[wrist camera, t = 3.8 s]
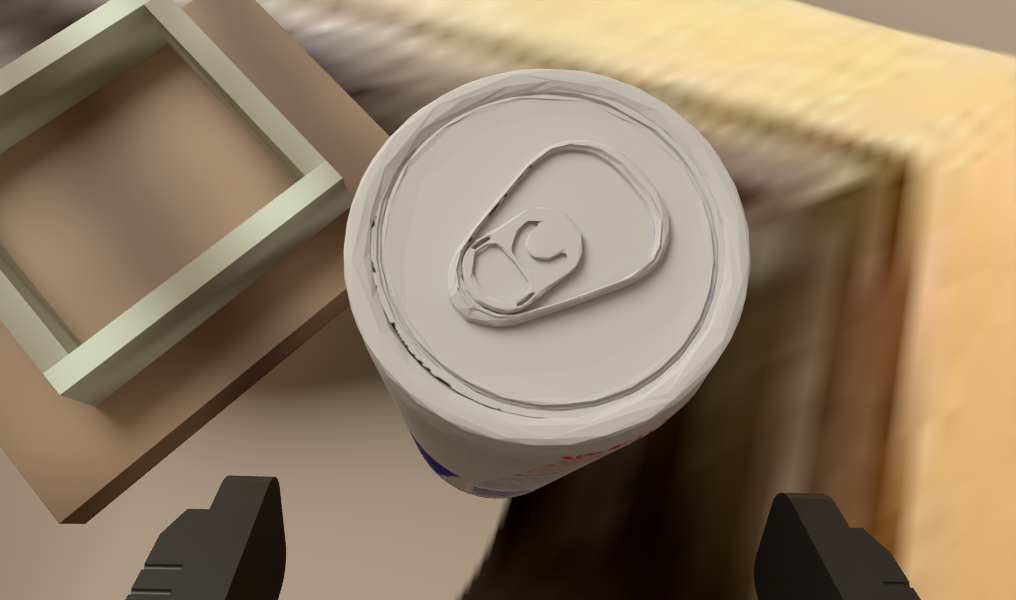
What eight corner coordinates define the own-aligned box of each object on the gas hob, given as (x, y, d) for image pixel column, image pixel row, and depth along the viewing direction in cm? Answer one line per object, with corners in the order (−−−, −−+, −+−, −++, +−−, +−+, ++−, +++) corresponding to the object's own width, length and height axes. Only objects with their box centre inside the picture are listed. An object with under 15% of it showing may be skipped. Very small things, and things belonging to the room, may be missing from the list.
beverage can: (600, 356, 25) (796, 118, 10) (556, 521, 23) (717, 513, 9) (442, 307, 25) (419, 7, 10) (387, 468, 23) (269, 373, 9)
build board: (242, 4, 28) (213, -67, 24) (453, 218, 26) (452, 173, 22) (-127, 248, 24) (-221, 203, 21) (85, 523, 22) (18, 522, 19)
